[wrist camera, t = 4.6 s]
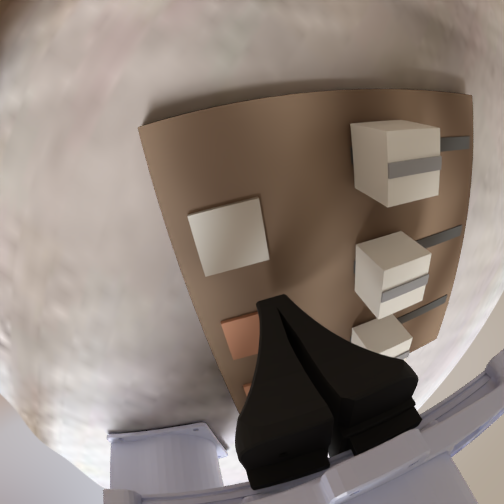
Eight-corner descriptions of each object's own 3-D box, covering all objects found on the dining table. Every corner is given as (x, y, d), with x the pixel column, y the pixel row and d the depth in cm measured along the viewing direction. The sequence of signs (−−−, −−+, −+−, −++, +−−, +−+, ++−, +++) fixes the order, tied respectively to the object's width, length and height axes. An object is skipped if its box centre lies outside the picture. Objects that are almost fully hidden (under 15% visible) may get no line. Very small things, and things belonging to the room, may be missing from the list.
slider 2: (349, 357, 19) (366, 385, 16) (352, 328, 17) (372, 357, 15) (385, 342, 19) (404, 367, 17) (391, 312, 18) (413, 338, 15)
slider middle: (354, 290, 16) (379, 320, 13) (355, 244, 14) (385, 272, 12) (396, 275, 16) (423, 301, 14) (401, 230, 15) (432, 254, 12)
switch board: (237, 405, 21) (240, 417, 20) (141, 126, 11) (136, 128, 10) (430, 331, 23) (437, 340, 22) (460, 93, 13) (474, 95, 12)
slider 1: (354, 188, 13) (389, 208, 10) (350, 123, 11) (387, 131, 9) (403, 178, 13) (439, 196, 11) (401, 119, 12) (441, 128, 9)
